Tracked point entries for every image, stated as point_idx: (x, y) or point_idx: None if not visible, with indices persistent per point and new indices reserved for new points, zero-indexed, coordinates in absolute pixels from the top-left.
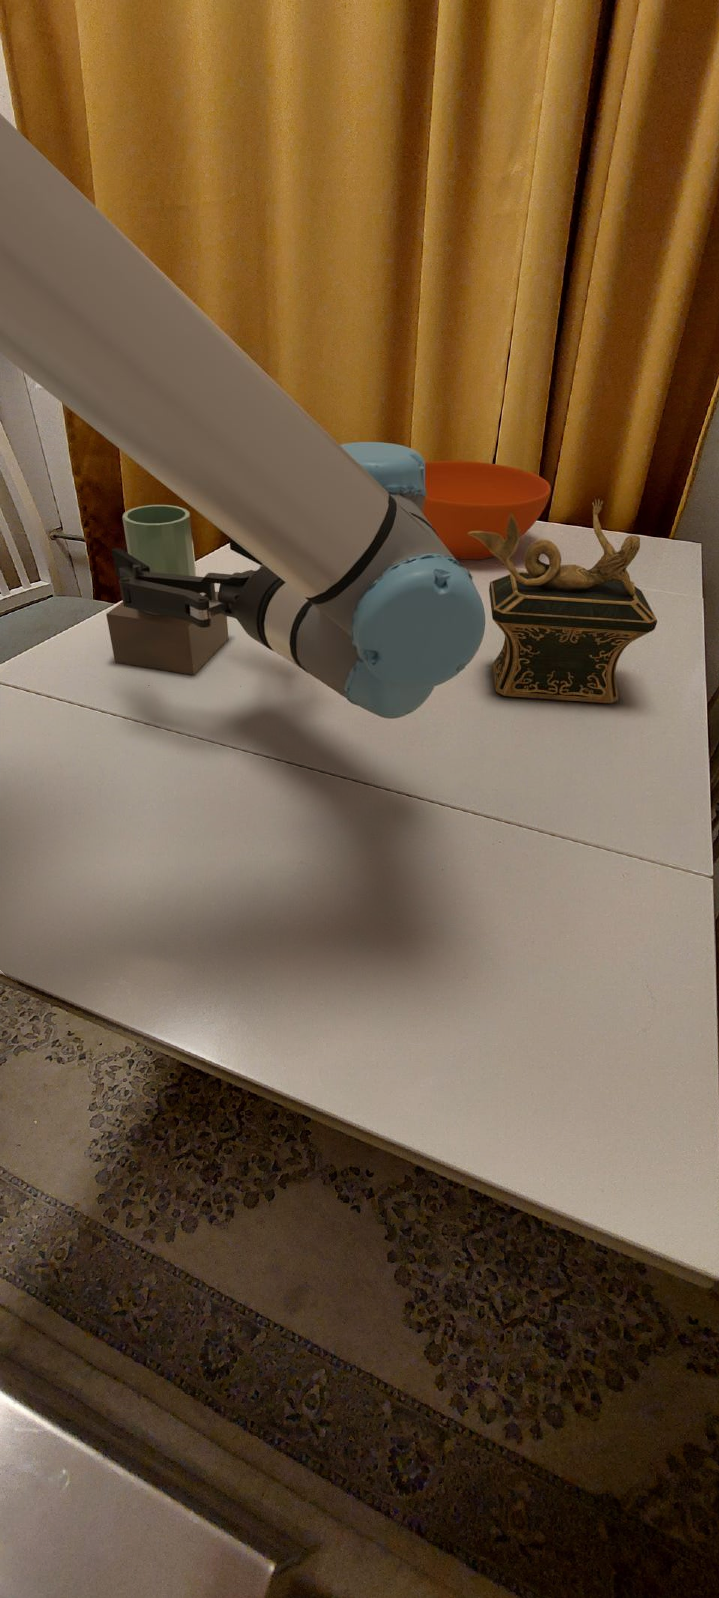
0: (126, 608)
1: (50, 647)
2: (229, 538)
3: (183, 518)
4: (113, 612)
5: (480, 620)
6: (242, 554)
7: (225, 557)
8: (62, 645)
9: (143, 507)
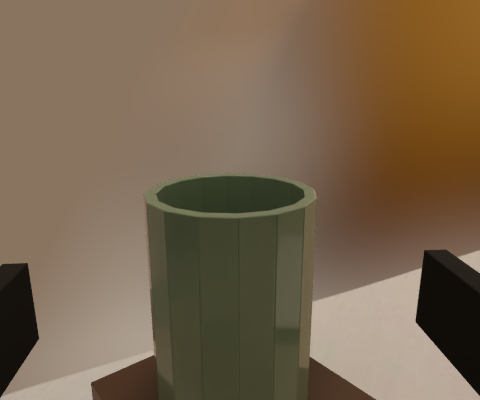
0: (141, 379)
1: (67, 379)
2: (419, 291)
3: (282, 210)
4: (107, 383)
5: None
6: (456, 364)
7: (420, 275)
8: (85, 381)
9: (228, 176)
